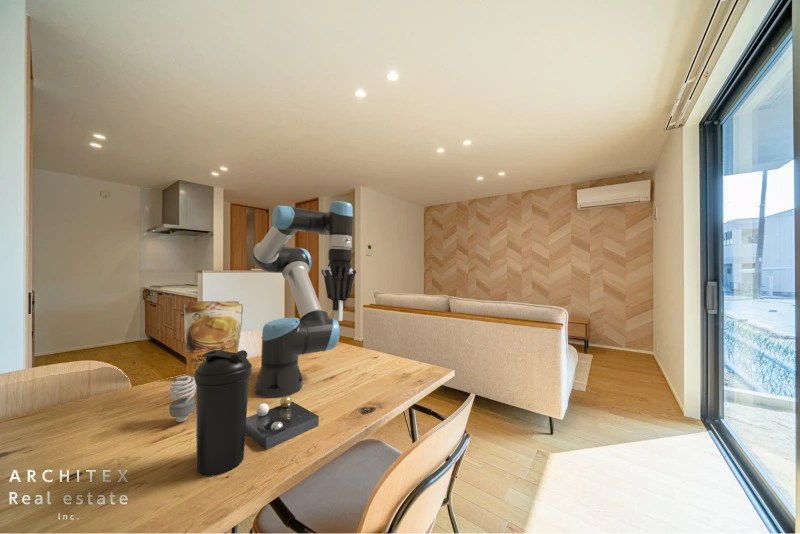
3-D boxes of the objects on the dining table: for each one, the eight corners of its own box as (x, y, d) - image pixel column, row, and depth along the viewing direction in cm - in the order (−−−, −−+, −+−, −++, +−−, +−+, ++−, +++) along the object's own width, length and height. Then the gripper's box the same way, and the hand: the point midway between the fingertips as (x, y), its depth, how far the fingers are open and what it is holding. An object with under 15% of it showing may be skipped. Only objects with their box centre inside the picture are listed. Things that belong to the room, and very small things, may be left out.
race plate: (240, 429, 74) (241, 419, 74) (291, 409, 84) (291, 401, 85) (265, 450, 65) (266, 438, 65) (318, 425, 76) (318, 415, 76)
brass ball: (277, 407, 81) (278, 396, 81) (287, 403, 83) (288, 392, 83) (283, 410, 79) (283, 399, 79) (293, 406, 81) (294, 395, 81)
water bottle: (209, 448, 66) (212, 345, 66) (256, 446, 67) (259, 346, 67) (178, 480, 56) (183, 359, 56) (234, 478, 56) (238, 359, 57)
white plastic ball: (254, 415, 76) (254, 404, 76) (265, 411, 78) (265, 400, 78) (259, 419, 74) (260, 407, 74) (271, 415, 76) (271, 403, 76)
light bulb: (200, 419, 78) (201, 374, 78) (178, 429, 73) (180, 381, 73) (185, 415, 80) (186, 371, 80) (162, 425, 75) (164, 378, 75)
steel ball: (269, 420, 72) (281, 418, 74) (265, 434, 71) (278, 432, 73) (275, 424, 70) (287, 422, 72) (272, 438, 69) (284, 436, 71)
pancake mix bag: (182, 376, 108) (185, 301, 109) (240, 370, 116) (243, 300, 117) (177, 383, 102) (180, 303, 102) (239, 376, 110) (242, 301, 111)
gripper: (331, 247, 89) (329, 324, 89) (362, 250, 99) (360, 319, 99) (316, 247, 94) (314, 321, 94) (347, 250, 104) (346, 316, 104)
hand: (338, 320), depth 96 cm, fingers closed
